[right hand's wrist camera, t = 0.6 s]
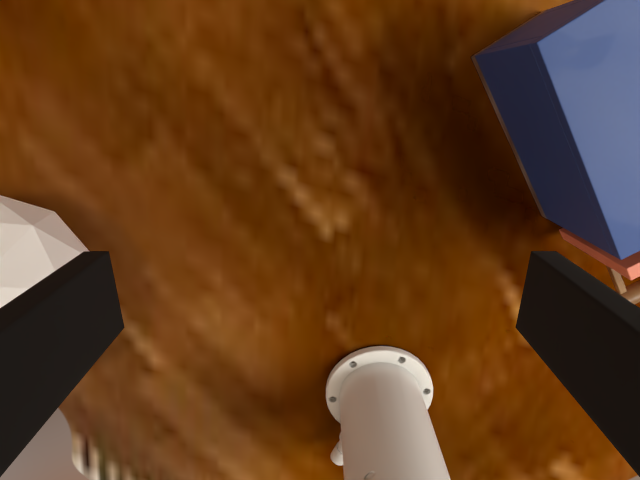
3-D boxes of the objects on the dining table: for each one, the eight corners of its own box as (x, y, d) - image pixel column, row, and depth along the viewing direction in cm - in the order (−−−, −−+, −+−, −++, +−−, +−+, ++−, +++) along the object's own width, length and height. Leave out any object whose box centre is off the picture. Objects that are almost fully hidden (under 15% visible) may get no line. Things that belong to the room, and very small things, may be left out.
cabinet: (605, 181, 38) (712, 215, 28) (541, 215, 40) (620, 260, 29) (542, 11, 33) (644, -25, 23) (470, 56, 34) (536, 42, 24)
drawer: (633, 259, 40) (719, 305, 32) (582, 284, 41) (652, 335, 33) (558, 59, 34) (641, 49, 25) (499, 95, 35) (560, 96, 26)
